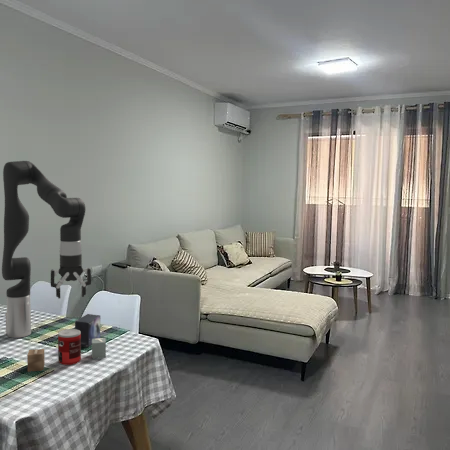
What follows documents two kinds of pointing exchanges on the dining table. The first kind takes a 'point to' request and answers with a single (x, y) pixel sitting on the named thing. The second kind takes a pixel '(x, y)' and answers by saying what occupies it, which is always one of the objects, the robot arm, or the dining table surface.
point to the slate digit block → (99, 348)
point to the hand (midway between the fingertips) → (71, 297)
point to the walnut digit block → (36, 360)
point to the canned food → (69, 346)
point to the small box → (88, 328)
